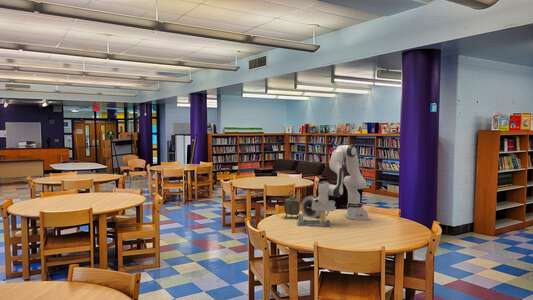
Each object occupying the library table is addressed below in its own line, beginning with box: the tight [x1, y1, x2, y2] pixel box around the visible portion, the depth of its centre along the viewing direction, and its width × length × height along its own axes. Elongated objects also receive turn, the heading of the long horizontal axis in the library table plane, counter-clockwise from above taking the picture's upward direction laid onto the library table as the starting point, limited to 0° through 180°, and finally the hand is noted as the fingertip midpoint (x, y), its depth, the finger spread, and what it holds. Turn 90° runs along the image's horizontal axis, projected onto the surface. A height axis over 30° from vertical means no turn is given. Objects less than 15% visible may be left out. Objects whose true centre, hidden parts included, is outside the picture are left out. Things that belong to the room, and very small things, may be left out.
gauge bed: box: [297, 213, 332, 228], centre depth 338 cm, size 28×16×7 cm, turn 86°
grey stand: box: [304, 211, 328, 222], centre depth 336 cm, size 18×11×10 cm, turn 86°
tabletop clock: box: [283, 190, 301, 219], centre depth 359 cm, size 14×9×25 cm, turn 84°
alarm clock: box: [300, 195, 320, 219], centre depth 368 cm, size 21×8×20 cm, turn 43°
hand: (322, 215), depth 337 cm, fingers open, 5 cm apart
